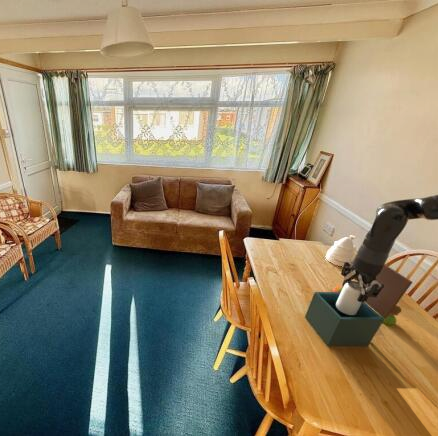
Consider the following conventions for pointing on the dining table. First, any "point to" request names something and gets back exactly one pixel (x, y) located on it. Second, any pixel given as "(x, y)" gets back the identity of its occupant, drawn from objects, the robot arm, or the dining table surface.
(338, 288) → the clementine
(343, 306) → the can
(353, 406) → the dining table surface
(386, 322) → the snail figurine
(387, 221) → the robot arm
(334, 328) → the box
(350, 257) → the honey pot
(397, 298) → the lid
